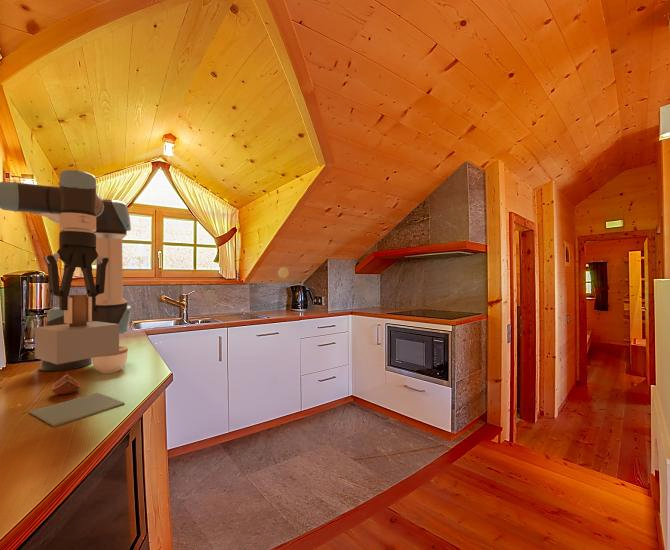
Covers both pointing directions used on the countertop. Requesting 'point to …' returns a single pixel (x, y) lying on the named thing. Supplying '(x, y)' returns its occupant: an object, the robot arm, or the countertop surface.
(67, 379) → the fruit slice
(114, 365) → the lidded jar
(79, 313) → the cover
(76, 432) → the countertop surface
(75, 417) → the mat
